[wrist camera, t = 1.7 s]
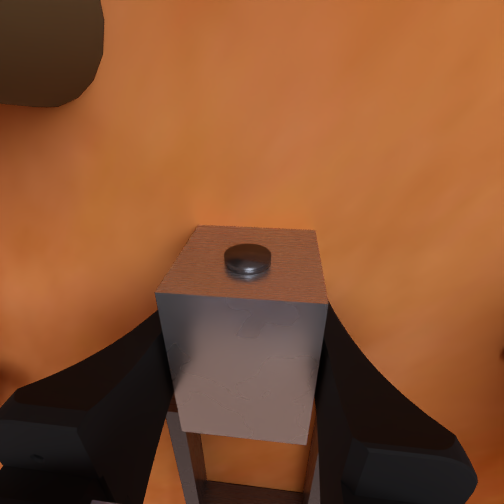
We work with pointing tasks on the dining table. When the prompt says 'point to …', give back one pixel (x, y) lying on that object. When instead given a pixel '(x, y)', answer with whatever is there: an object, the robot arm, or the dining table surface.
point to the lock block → (245, 331)
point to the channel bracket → (223, 494)
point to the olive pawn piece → (48, 50)
